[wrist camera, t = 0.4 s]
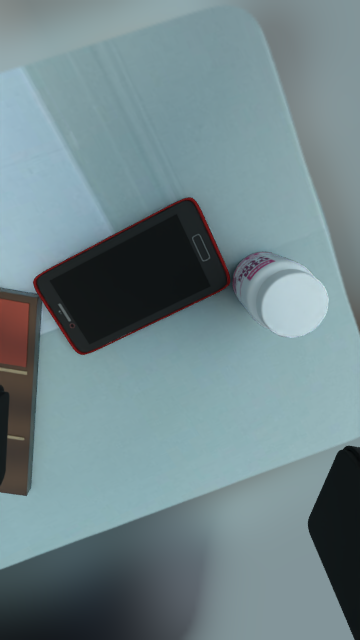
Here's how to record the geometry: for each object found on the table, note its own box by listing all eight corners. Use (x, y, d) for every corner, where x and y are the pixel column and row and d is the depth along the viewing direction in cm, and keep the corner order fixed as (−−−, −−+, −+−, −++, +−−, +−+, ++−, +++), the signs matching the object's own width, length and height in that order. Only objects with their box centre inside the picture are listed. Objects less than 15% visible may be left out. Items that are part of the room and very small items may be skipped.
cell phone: (232, 282, 26) (234, 284, 25) (82, 354, 28) (78, 359, 27) (193, 193, 24) (193, 192, 23) (32, 277, 26) (27, 279, 25)
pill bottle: (245, 242, 25) (278, 252, 17) (297, 264, 26) (352, 283, 18) (222, 295, 27) (241, 328, 19) (272, 315, 27) (312, 354, 19)
